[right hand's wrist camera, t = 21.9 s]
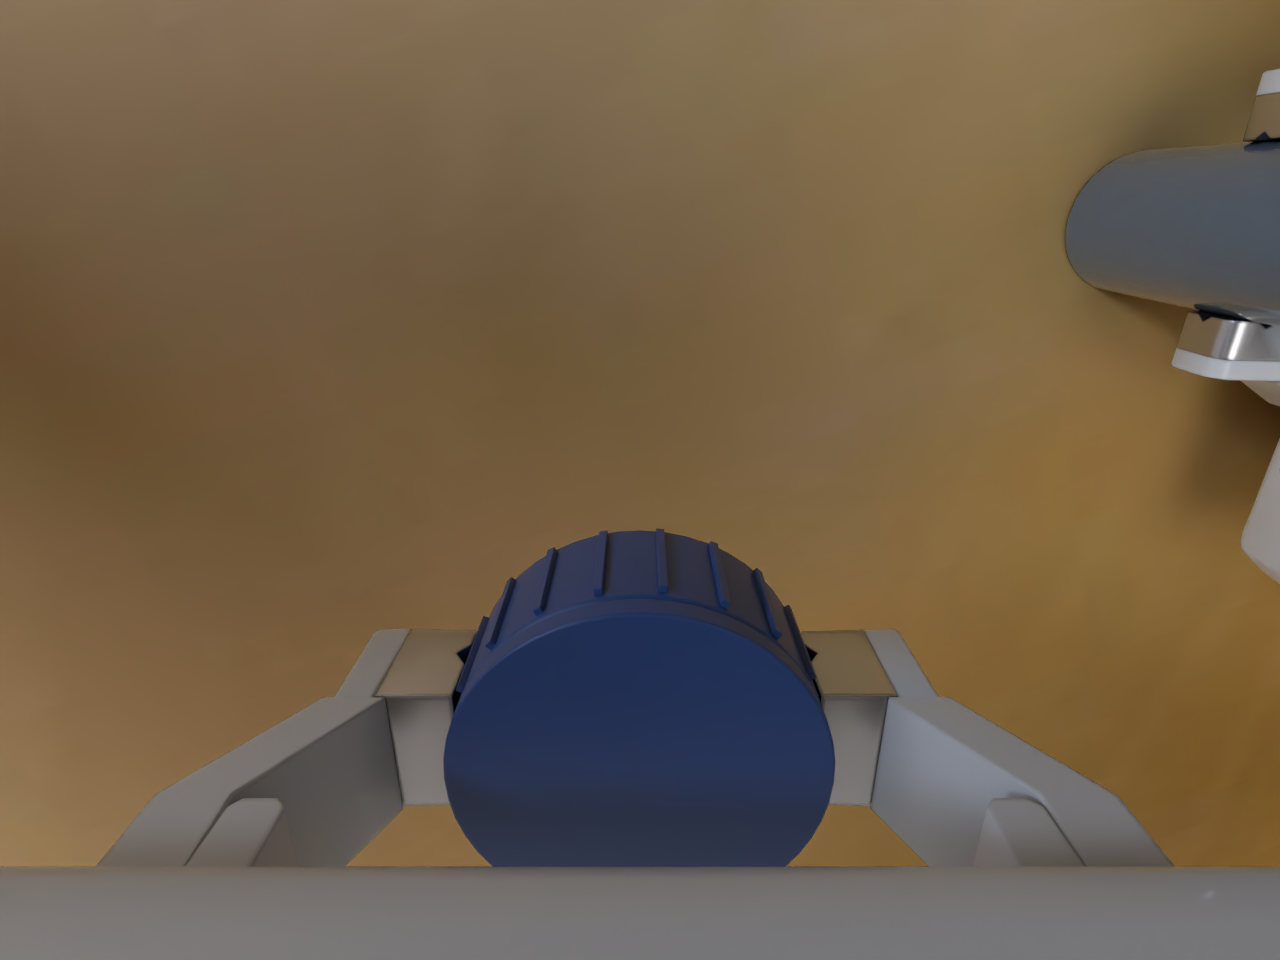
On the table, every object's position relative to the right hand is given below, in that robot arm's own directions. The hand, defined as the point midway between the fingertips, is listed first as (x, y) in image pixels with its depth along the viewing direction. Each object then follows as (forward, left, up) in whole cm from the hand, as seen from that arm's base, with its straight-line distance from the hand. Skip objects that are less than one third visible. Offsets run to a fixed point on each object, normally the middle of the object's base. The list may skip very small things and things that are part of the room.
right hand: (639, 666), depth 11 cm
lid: (0, 0, +2) cm, 2 cm away
